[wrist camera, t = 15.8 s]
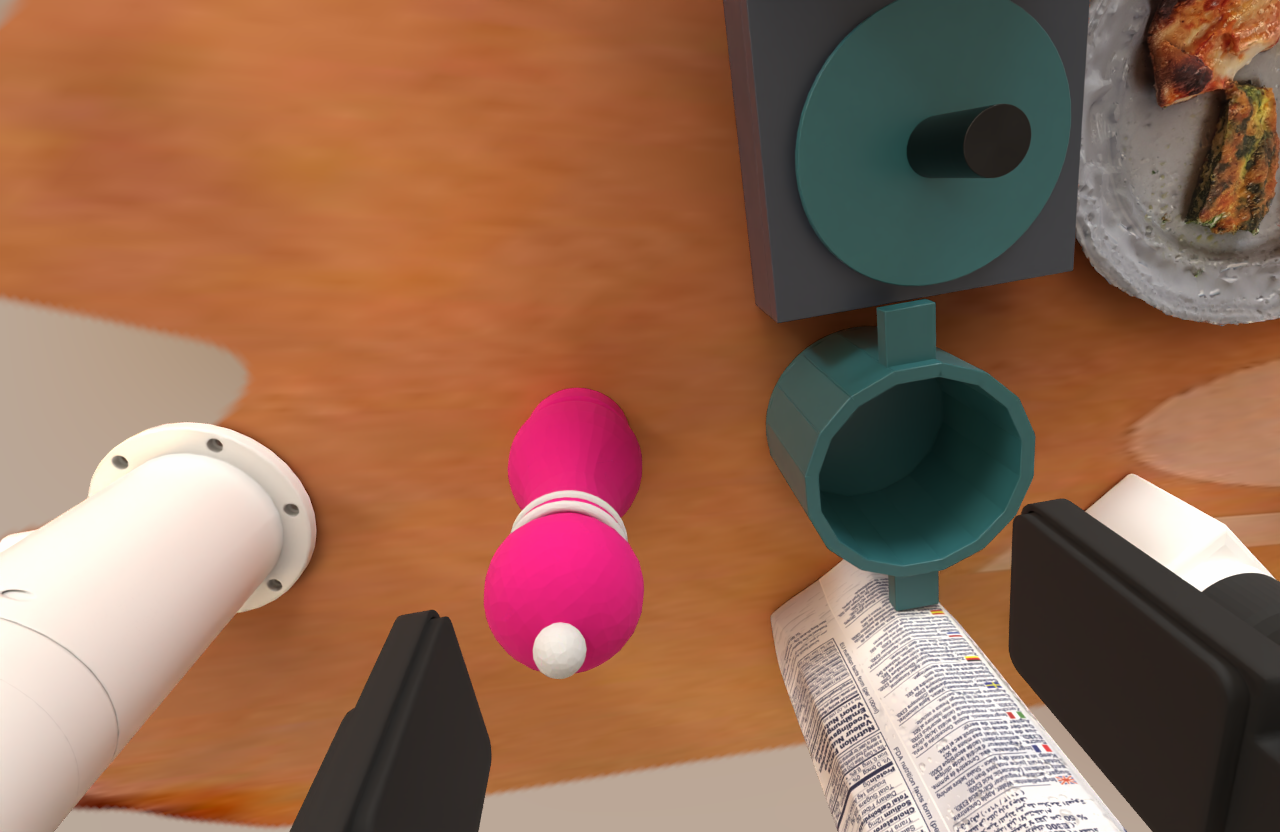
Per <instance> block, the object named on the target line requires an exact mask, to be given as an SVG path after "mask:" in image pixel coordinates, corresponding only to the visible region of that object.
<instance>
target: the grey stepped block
mask: <svg viewBox="0 0 1280 832" xmlns="http://www.w3.org/2000/svg"><path fill="white" fill-rule="evenodd" d="M894 1H896V0H723V4H724V13H725V23H726V32H727V41H728V51H729V60H730V69H731V79H732V88H733V97H734V107H735V116H736V125H737V135H738V144H739V153H740V163H741V172H742V181H743V191H744V200H745V209H746V219H747V228H748V237H749V247H750V256H751V265H752V275H753V284H754V293H755V303H756V305H757V306H758V307H759V308H760V309H761V310H763V311H764V312H765V313H766V314H767V315H769V316H770V317H771V318H772V319H773V320H774V321H776V322H777V323H782V322H788V321H793V320H799V319H805V318H810V317H816V316H821V315H827V314H833V313H838V312H844V311H850V310H855V309H861V308H866V307H872V306H878V305H883V304H889V303H894V302H900V301H906V300H911V299H917V298H922V297H928V296H934V295H939V294H945V293H950V292H956V291H962V290H967V289H973V288H978V287H984V286H990V285H995V284H1001V283H1007V282H1012V281H1018V280H1023V279H1029V278H1035V277H1040V276H1046V275H1051V274H1057V273H1063V272H1068V271H1073V264H1074V247H1075V231H1076V215H1077V199H1078V183H1079V166H1080V150H1081V134H1082V118H1083V102H1084V85H1085V69H1086V53H1087V37H1088V21H1089V4H1090V0H1010V1H1012V2H1013V3H1015V4H1017V5H1018V6H1020V7H1022V8H1023V9H1024V10H1025V11H1026V12H1027V13H1029V14H1030V15H1031V16H1032V17H1033V18H1034V19H1035V20H1036V21H1037V22H1038V23H1039V24H1040V26H1041V27H1042V28H1043V29H1044V30H1045V31H1046V33H1047V34H1048V36H1049V37H1050V39H1051V41H1052V42H1053V44H1054V46H1055V47H1056V49H1057V51H1058V54H1059V56H1060V58H1061V61H1062V63H1063V66H1064V69H1065V73H1066V77H1067V80H1068V84H1069V92H1070V100H1071V127H1070V136H1069V143H1068V148H1067V152H1066V156H1065V161H1064V164H1063V166H1062V169H1061V172H1060V175H1059V178H1058V180H1057V183H1056V185H1055V187H1054V189H1053V191H1052V193H1051V195H1050V197H1049V199H1048V201H1047V202H1046V204H1045V205H1044V207H1043V209H1042V210H1041V212H1040V214H1039V215H1038V216H1037V218H1036V219H1035V220H1034V222H1033V223H1032V224H1031V225H1030V227H1029V228H1028V229H1027V230H1026V232H1025V233H1024V234H1023V235H1022V236H1021V237H1020V238H1019V239H1018V240H1017V241H1016V242H1015V243H1014V244H1013V245H1012V246H1011V247H1009V248H1008V249H1007V250H1006V251H1005V252H1003V253H1002V254H1001V255H1000V256H998V257H997V258H995V259H994V260H992V261H991V262H989V263H988V264H987V265H985V266H983V267H981V268H979V269H977V270H976V271H974V272H972V273H970V274H968V275H965V276H962V277H960V278H957V279H954V280H951V281H947V282H943V283H939V284H935V285H926V286H900V285H894V284H888V283H884V282H881V281H878V280H874V279H871V278H869V277H866V276H864V275H862V274H860V273H858V272H856V271H854V270H852V269H851V268H849V267H848V266H847V265H845V264H844V263H842V262H841V261H840V260H838V259H837V258H836V257H835V256H834V255H833V254H832V253H831V252H830V251H829V250H828V249H827V248H826V247H825V245H824V244H823V243H822V242H821V240H820V239H819V238H818V236H817V235H816V233H815V231H814V230H813V228H812V226H811V225H810V223H809V221H808V218H807V216H806V213H805V211H804V209H803V206H802V202H801V199H800V195H799V192H798V186H797V179H796V172H795V149H796V139H797V131H798V127H799V122H800V118H801V113H802V110H803V107H804V104H805V102H806V99H807V96H808V93H809V91H810V89H811V87H812V85H813V83H814V81H815V79H816V77H817V75H818V73H819V71H820V70H821V68H822V67H823V65H824V63H825V62H826V60H827V59H828V57H829V56H830V55H831V53H832V52H833V51H834V50H835V48H836V47H837V46H838V45H839V43H840V42H841V41H842V40H843V39H844V38H845V37H846V36H847V35H848V34H849V33H850V32H851V31H852V30H853V29H854V28H855V27H856V26H857V25H859V24H860V23H861V22H863V21H864V20H865V19H867V18H868V17H869V16H871V15H872V14H873V13H875V12H876V11H878V10H880V9H882V8H883V7H885V6H887V5H889V4H890V3H892V2H894Z"/></svg>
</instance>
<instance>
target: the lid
mask: <svg viewBox="0 0 1280 832" xmlns="http://www.w3.org/2000/svg"><path fill="white" fill-rule="evenodd" d="M1070 127H1071V100H1070V92H1069V84H1068V80H1067V77H1066V73H1065V69H1064V66H1063V63H1062V61H1061V58H1060V56H1059V54H1058V51H1057V49H1056V47H1055V46H1054V44H1053V42H1052V41H1051V39H1050V37H1049V36H1048V34H1047V33H1046V31H1045V30H1044V29H1043V28H1042V27H1041V26H1040V24H1039V23H1038V22H1037V21H1036V20H1035V19H1034V18H1033V17H1032V16H1031V15H1030V14H1029V13H1027V12H1026V11H1025V10H1024V9H1023V8H1022V7H1020V6H1018V5H1017V4H1015V3H1013V2H1012V1H1010V0H896V1H894V2H892V3H890V4H889V5H887V6H885V7H883V8H882V9H880V10H878V11H876V12H875V13H873V14H872V15H871V16H869V17H868V18H867V19H865V20H864V21H863V22H861V23H860V24H859V25H857V26H856V27H855V28H854V29H853V30H852V31H851V32H850V33H849V34H848V35H847V36H846V37H845V38H844V39H843V40H842V41H841V42H840V43H839V45H838V46H837V47H836V48H835V50H834V51H833V52H832V53H831V55H830V56H829V57H828V59H827V60H826V62H825V63H824V65H823V67H822V68H821V70H820V71H819V73H818V75H817V77H816V79H815V81H814V83H813V85H812V87H811V89H810V91H809V93H808V96H807V99H806V102H805V104H804V107H803V110H802V113H801V118H800V122H799V127H798V131H797V139H796V149H795V172H796V179H797V186H798V192H799V195H800V199H801V202H802V206H803V209H804V211H805V213H806V216H807V218H808V221H809V223H810V225H811V226H812V228H813V230H814V231H815V233H816V235H817V236H818V238H819V239H820V240H821V242H822V243H823V244H824V245H825V247H826V248H827V249H828V250H829V251H830V252H831V253H832V254H833V255H834V256H835V257H836V258H837V259H838V260H840V261H841V262H842V263H844V264H845V265H847V266H848V267H849V268H851V269H852V270H854V271H856V272H858V273H860V274H862V275H864V276H866V277H869V278H871V279H874V280H878V281H881V282H884V283H888V284H894V285H900V286H926V285H935V284H939V283H943V282H947V281H951V280H954V279H957V278H960V277H962V276H965V275H968V274H970V273H972V272H974V271H976V270H977V269H979V268H981V267H983V266H985V265H987V264H988V263H989V262H991V261H992V260H994V259H995V258H997V257H998V256H1000V255H1001V254H1002V253H1003V252H1005V251H1006V250H1007V249H1008V248H1009V247H1011V246H1012V245H1013V244H1014V243H1015V242H1016V241H1017V240H1018V239H1019V238H1020V237H1021V236H1022V235H1023V234H1024V233H1025V232H1026V230H1027V229H1028V228H1029V227H1030V225H1031V224H1032V223H1033V222H1034V220H1035V219H1036V218H1037V216H1038V215H1039V214H1040V212H1041V210H1042V209H1043V207H1044V205H1045V204H1046V202H1047V201H1048V199H1049V197H1050V195H1051V193H1052V191H1053V189H1054V187H1055V185H1056V183H1057V180H1058V178H1059V175H1060V172H1061V169H1062V166H1063V164H1064V161H1065V156H1066V152H1067V148H1068V143H1069V136H1070Z"/></svg>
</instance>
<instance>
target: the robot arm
mask: <svg viewBox="0 0 1280 832" xmlns="http://www.w3.org/2000/svg"><path fill="white" fill-rule="evenodd" d="M316 533H317V530H316V520H315V513H314V510H313V507H312V504H311V501H310V498H309V496H308V494H307V492H306V490H305V489H304V487H303V485H302V483H301V482H300V480H299V479H298V477H297V476H296V475H295V474H294V473H293V471H292V470H291V469H290V468H289V466H288V465H287V464H286V463H285V462H284V461H282V460H281V459H280V458H279V457H278V456H277V455H276V454H274V453H273V452H272V451H271V450H270V449H268V448H266V447H265V446H263V445H262V444H260V443H258V442H257V441H255V440H253V439H252V438H250V437H247V436H245V435H243V434H240V433H238V432H236V431H233V430H231V429H227V428H223V427H219V426H215V425H211V424H204V423H192V422H182V423H170V424H164V425H160V426H157V427H153V428H149V429H146V430H144V431H143V432H140V433H138V434H136V435H134V436H132V437H130V438H128V439H127V440H125V441H124V442H123V443H121V444H119V445H118V446H117V447H115V448H113V449H112V450H111V451H110V452H109V453H108V454H107V456H106V457H105V458H104V459H103V460H102V461H101V462H100V464H99V466H98V467H97V470H96V471H95V473H94V475H93V477H92V480H91V484H90V488H89V492H88V498H87V499H86V500H84V501H82V502H81V503H79V504H78V505H76V506H74V507H73V508H71V509H70V510H68V511H66V512H65V513H63V514H62V515H60V516H58V517H57V518H55V519H54V520H52V521H50V522H49V523H47V524H46V525H44V526H42V527H41V528H39V529H38V530H33V531H28V532H22V533H16V534H11V535H8V536H6V537H5V538H3V539H2V540H1V542H0V832H54V831H55V830H56V829H57V827H58V826H59V825H60V823H61V822H62V821H63V819H65V817H66V816H67V815H68V814H69V813H70V811H71V810H72V809H73V808H74V807H75V805H76V804H77V803H78V802H79V800H80V799H81V798H82V797H83V796H84V794H85V793H86V792H87V791H88V790H89V788H90V787H91V786H92V785H93V784H94V782H95V781H96V780H97V779H98V778H99V776H100V775H101V774H102V773H103V772H104V771H105V770H106V769H107V767H108V766H109V765H110V764H111V763H112V761H113V760H114V759H115V758H116V757H117V755H118V754H119V753H120V752H121V751H122V749H123V748H124V747H125V746H126V745H127V743H128V742H129V741H130V740H131V739H132V737H133V736H134V735H135V734H136V733H137V731H138V730H139V729H140V728H141V727H142V725H143V724H144V723H145V722H146V721H147V719H148V718H149V717H150V716H151V715H152V714H153V712H154V711H155V710H156V709H157V708H158V706H159V705H160V704H161V703H162V702H163V700H164V699H165V698H166V697H167V696H168V694H169V693H170V692H171V691H172V690H173V688H174V687H175V686H176V685H177V684H178V682H179V681H180V680H181V679H182V678H183V676H184V675H185V674H186V673H187V672H188V670H189V669H190V668H191V667H192V666H193V664H194V663H195V662H196V661H197V660H198V658H199V657H200V656H201V655H202V654H203V652H204V651H205V650H206V649H207V648H208V646H209V645H210V644H211V643H212V642H213V640H214V639H215V638H216V637H217V636H218V634H219V633H220V632H221V631H222V630H223V629H224V627H225V626H226V625H227V624H228V623H229V621H230V620H231V619H232V618H233V617H234V615H235V614H236V613H240V612H245V611H249V610H252V609H256V608H260V607H262V606H264V605H266V604H268V603H270V602H272V601H274V600H276V599H277V598H279V597H280V596H281V595H283V594H284V593H285V592H287V591H288V590H289V589H290V588H291V587H292V586H293V584H294V583H295V582H296V581H297V580H298V578H299V577H300V576H301V574H302V573H303V571H304V570H305V568H306V567H307V565H308V564H309V562H310V559H311V557H312V554H313V551H314V548H315V541H316ZM1009 653H1010V657H1011V660H1012V663H1013V664H1014V666H1015V668H1016V670H1017V671H1018V672H1019V674H1020V675H1021V676H1022V677H1023V678H1024V680H1025V681H1026V682H1027V683H1028V684H1029V686H1030V687H1031V688H1032V689H1033V690H1034V691H1035V693H1036V694H1037V695H1038V696H1039V697H1040V699H1041V700H1042V701H1043V702H1044V703H1045V705H1046V706H1047V707H1048V708H1049V709H1050V710H1051V712H1052V713H1053V714H1054V715H1055V716H1056V718H1057V719H1058V720H1059V721H1060V722H1061V724H1062V725H1063V726H1064V727H1065V728H1066V729H1067V731H1068V732H1069V733H1070V734H1071V735H1072V737H1073V738H1074V739H1075V740H1076V741H1077V742H1078V744H1079V745H1080V746H1081V747H1082V748H1083V749H1084V751H1085V752H1086V753H1087V754H1088V755H1089V756H1090V758H1091V759H1092V760H1093V761H1094V763H1095V764H1096V765H1097V766H1098V767H1099V769H1101V771H1102V772H1103V773H1104V775H1105V776H1106V777H1107V778H1108V779H1109V780H1110V782H1111V783H1112V784H1113V785H1114V786H1115V787H1116V789H1117V790H1118V791H1119V792H1120V793H1121V795H1122V796H1123V797H1124V798H1125V799H1126V801H1127V802H1128V803H1129V804H1130V805H1131V807H1133V809H1134V810H1135V811H1136V812H1137V814H1138V815H1139V816H1140V817H1141V818H1142V820H1143V821H1144V822H1145V823H1146V824H1147V825H1148V827H1149V828H1150V829H1151V830H1152V831H1153V832H1280V646H1279V645H1278V644H1276V643H1275V642H1273V641H1272V640H1270V639H1269V638H1267V637H1266V636H1265V635H1263V634H1262V633H1260V632H1259V631H1257V630H1256V629H1254V628H1253V627H1252V626H1250V625H1249V624H1247V623H1246V622H1244V621H1243V620H1241V619H1240V618H1238V617H1237V616H1236V615H1234V614H1233V613H1231V612H1230V611H1228V610H1227V609H1225V608H1224V607H1223V606H1221V605H1220V604H1218V603H1217V602H1215V601H1214V600H1212V599H1211V598H1210V597H1208V596H1207V595H1205V594H1204V593H1202V592H1201V591H1199V590H1198V589H1197V588H1195V587H1194V586H1192V585H1191V584H1189V583H1188V582H1186V581H1185V580H1183V579H1182V578H1181V577H1179V576H1178V575H1176V574H1175V573H1173V572H1172V571H1170V570H1169V569H1168V568H1166V567H1165V566H1163V565H1162V564H1160V563H1159V562H1157V561H1156V560H1155V559H1153V558H1152V557H1150V556H1149V555H1147V554H1146V553H1144V552H1143V551H1142V550H1140V549H1139V548H1137V547H1136V546H1134V545H1133V544H1131V543H1130V542H1128V541H1127V540H1126V539H1124V538H1123V537H1121V536H1120V535H1118V534H1117V533H1115V532H1114V531H1113V530H1111V529H1110V528H1108V527H1107V526H1105V525H1104V524H1102V523H1101V522H1100V521H1098V520H1097V519H1095V518H1094V517H1092V516H1091V515H1089V514H1088V513H1087V512H1085V511H1084V510H1082V509H1081V508H1079V507H1078V506H1076V505H1075V504H1073V503H1072V502H1071V501H1069V500H1066V499H1056V500H1050V501H1045V502H1039V503H1033V504H1028V505H1026V506H1025V507H1024V508H1023V510H1022V513H1021V515H1018V516H1016V517H1015V519H1014V521H1013V534H1012V563H1011V592H1010V621H1009ZM490 766H491V744H490V739H489V736H488V733H487V730H486V727H485V724H484V720H483V717H482V714H481V711H480V708H479V705H478V702H477V699H476V696H475V693H474V690H473V687H472V684H471V681H470V677H469V674H468V671H467V668H466V665H465V662H464V659H463V656H462V653H461V650H460V647H459V644H458V641H457V637H456V634H455V631H454V628H453V625H452V623H451V620H450V619H449V617H441V618H440V617H439V614H438V613H437V612H436V611H435V610H429V611H423V612H417V613H412V614H406V615H401V616H399V617H397V619H396V620H395V622H394V624H393V627H392V629H391V631H390V633H389V635H388V637H387V640H386V642H385V644H384V646H383V648H382V650H381V653H380V655H379V657H378V659H377V661H376V663H375V666H374V668H373V670H372V672H371V674H370V676H369V679H368V681H367V683H366V685H365V687H364V689H363V692H362V694H361V696H360V698H359V700H358V702H357V704H356V707H355V708H353V709H352V710H351V711H349V712H348V713H347V714H346V716H345V717H344V719H343V721H342V722H341V725H340V727H339V729H338V731H337V733H336V735H335V737H334V739H333V741H332V743H331V746H330V748H329V750H328V752H327V754H326V756H325V758H324V760H323V762H322V765H321V767H320V769H319V771H318V773H317V775H316V777H315V779H314V781H313V784H312V786H311V788H310V790H309V792H308V794H307V796H306V798H305V800H304V802H303V805H302V807H301V809H300V811H299V813H298V815H297V817H296V819H295V821H294V824H293V826H292V828H291V830H290V832H478V830H479V825H480V819H481V814H482V809H483V803H484V798H485V793H486V787H487V782H488V777H489V771H490Z"/></svg>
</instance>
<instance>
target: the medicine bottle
mask: <svg viewBox="0 0 1280 832" xmlns="http://www.w3.org/2000/svg"><path fill="white" fill-rule="evenodd" d="M1085 512H1087V513H1088V514H1089V515H1091V516H1092V517H1094V518H1095V519H1097V520H1098V521H1100V522H1101V523H1102V524H1104V525H1105V526H1107V527H1108V528H1110V529H1111V530H1113V531H1114V532H1115V533H1117V534H1118V535H1120V536H1121V537H1123V538H1124V539H1126V540H1127V541H1128V542H1130V543H1131V544H1133V545H1134V546H1136V547H1137V548H1139V549H1140V550H1142V551H1143V552H1144V553H1146V554H1147V555H1149V556H1150V557H1152V558H1153V559H1155V560H1156V561H1157V562H1159V563H1160V564H1162V565H1163V566H1165V567H1166V568H1168V569H1169V570H1170V571H1172V572H1173V573H1175V574H1176V575H1178V576H1179V577H1181V578H1182V579H1183V580H1185V581H1186V582H1188V583H1189V584H1191V585H1192V586H1194V587H1195V588H1197V589H1198V590H1199V591H1201V592H1202V593H1204V594H1205V595H1207V596H1208V597H1210V598H1211V599H1212V600H1214V601H1215V602H1217V603H1218V604H1220V605H1221V606H1223V607H1224V608H1225V609H1227V610H1228V611H1230V612H1231V613H1233V614H1234V615H1236V616H1237V617H1238V618H1240V619H1241V620H1243V621H1244V622H1246V623H1247V624H1249V625H1250V626H1252V627H1253V628H1254V629H1256V630H1257V631H1259V632H1260V633H1262V634H1263V635H1265V636H1266V637H1267V638H1269V639H1270V640H1272V641H1273V642H1275V643H1276V644H1278V645H1279V646H1280V582H1279V581H1277V580H1276V579H1275V578H1274V577H1273V576H1272V575H1271V574H1270V573H1269V572H1268V570H1267V569H1266V568H1265V567H1264V566H1263V565H1262V564H1261V563H1260V562H1259V561H1258V560H1257V558H1256V557H1255V556H1254V555H1253V554H1252V553H1251V552H1250V551H1249V550H1248V549H1247V548H1246V547H1245V545H1244V544H1243V543H1242V542H1241V541H1240V540H1239V539H1238V538H1237V537H1236V536H1235V535H1234V533H1233V532H1232V531H1231V530H1230V529H1229V528H1228V527H1227V526H1226V525H1225V524H1223V523H1221V522H1220V521H1218V520H1216V519H1214V518H1212V517H1211V516H1209V515H1207V514H1205V513H1203V512H1202V511H1200V510H1198V509H1196V508H1194V507H1193V506H1191V505H1189V504H1187V503H1186V502H1184V501H1182V500H1180V499H1178V498H1177V497H1175V496H1173V495H1171V494H1169V493H1168V492H1166V491H1164V490H1162V489H1160V488H1159V487H1157V486H1155V485H1153V484H1152V483H1150V482H1148V481H1146V480H1144V479H1143V478H1141V477H1139V476H1137V475H1135V474H1129V475H1127V476H1126V477H1125V478H1124V479H1122V480H1121V481H1120V482H1119V483H1118V484H1116V485H1115V486H1114V487H1113V488H1112V489H1111V490H1109V491H1108V492H1107V493H1106V494H1105V495H1104V496H1102V497H1101V498H1100V499H1099V500H1098V501H1096V502H1095V503H1094V504H1093V505H1092V506H1091V507H1089V508H1088V509H1087V510H1086V511H1085Z"/></svg>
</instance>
